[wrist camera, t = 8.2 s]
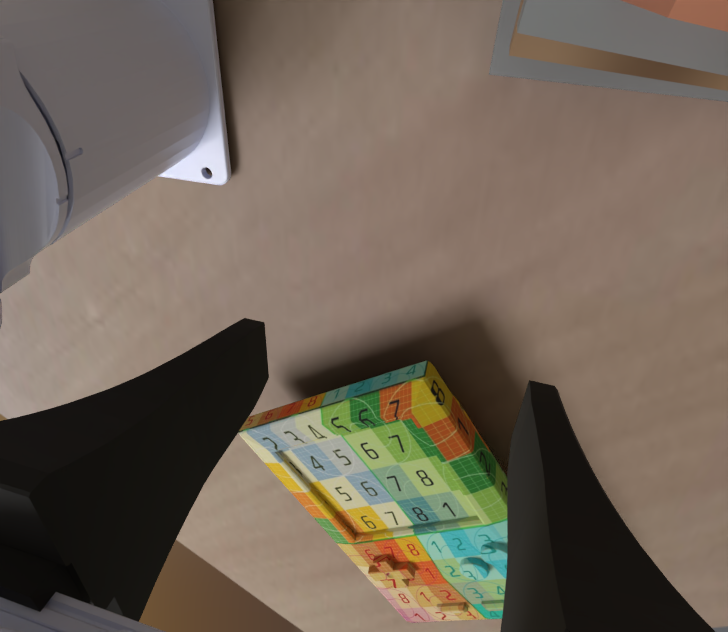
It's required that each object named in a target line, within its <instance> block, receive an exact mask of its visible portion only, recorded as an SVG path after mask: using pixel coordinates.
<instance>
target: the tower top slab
mask: <svg viewBox="0 0 728 632" xmlns="http://www.w3.org/2000/svg"><path fill="white" fill-rule="evenodd" d="M517 33H520V34H525V35H530V36H535V37H540V38H544V39H549V40H554V41H559V42H564V43H569V44H574V45H579V46H583V47H588V48H593V49H598V50H603V51H608V52H613V53H618V54H623V55H627V56H632V57H637V58H642V59H647V60H652V61H657V62H662V63H667V64H671V65H676V66H681V67H686V68H691V69H696V70H701V71H706V72H710V73H715V74H720V75H725V76H728V32H726V31H722V30H717V29H713V28H709V27H705V26H701V25H697V24H692V23H688V22H684V21H680V20H676V19H672V18H667V17H665V16H662V15H659V14H657V13H654V12H651V11H648V10H646V9H643V8H640V7H638V6H635V5H632V4H629V3H627V2H624V1H621V0H524V2H523V5H522V8H521V12H520V15H519V19H518V22H517Z"/></svg>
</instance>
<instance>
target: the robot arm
mask: <svg viewBox="0 0 728 632" xmlns="http://www.w3.org/2000/svg"><path fill="white" fill-rule="evenodd" d="M206 167H207V168H209V169H210V170H211V172H212V176H211V175H209V174H208V173H207V172H206V170H205V168H206ZM157 176H160V177H167V178H174V179H181V180H187V181H194V182H201V183H208V184H215V185H224V184H225V183H227V182H228V181H229V180H230V178H231V166H230V157H229V148H228V138H227V129H226V120H225V110H224V101H223V92H222V82H221V73H220V64H219V55H218V45H217V36H216V27H215V17H214V8H213V0H0V293H2V292H3V291H4V290H6V289H7V288H9V287H10V286H12V285H13V284H15V283H16V282H18V281H19V280H21V279H22V278H24V277H25V276H27V275H28V274H29V273H30V263H31V261H32V259H33V257H34V256H35V255H36V254H37V253H39V252H40V251H42V250H43V249H45V248H46V247H48V246H49V245H51V244H53V243H55V242H56V241H58V240H59V239H61V238H62V237H64V236H66V235H67V234H69V233H70V232H72V231H73V230H75V229H76V228H78V227H79V226H81V225H83V224H84V223H86V222H87V221H89V220H90V219H92V218H93V217H95V216H97V215H98V214H100V213H101V212H103V211H104V210H106V209H107V208H109V207H111V206H112V205H114V204H115V203H117V202H118V201H120V200H121V199H123V198H124V197H126V196H128V195H129V194H131V193H132V192H134V191H135V190H137V189H138V188H140V187H142V186H143V185H145V184H146V183H148V182H149V181H151V180H152V179H154V178H155V177H157ZM1 324H2V305H1V299H0V327H1ZM268 378H269V374H268V362H267V349H266V337H265V324H264V322H260V321H255V320H251V319H246V318H244V319H242V320H240V321H238V322H237V323H235V324H233V325H231V326H230V327H228V328H226V329H224V330H223V331H221V332H219V333H218V334H216V335H214V336H213V337H211V338H209V339H208V340H206V341H204V342H202V343H201V344H199V345H197V346H196V347H194V348H192V349H190V350H189V351H187V352H185V353H183V354H182V355H180V356H178V357H176V358H174V359H172V360H170V361H168V362H166V363H164V364H162V365H161V366H159V367H157V368H155V369H153V370H151V371H149V372H147V373H145V374H143V375H140V376H138V377H136V378H134V379H132V380H129V381H127V382H125V383H122V384H120V385H117V386H115V387H113V388H110V389H108V390H105V391H102V392H99V393H96V394H94V395H91V396H88V397H85V398H82V399H79V400H77V401H74V402H71V403H68V404H64V405H61V406H58V407H54V408H51V409H48V410H44V411H40V412H36V413H33V414H29V415H25V416H21V417H17V418H12V419H7V420H3V421H0V632H165V631H162V630H159V629H156V628H154V627H151V626H148V625H146V624H143V623H140V622H139V620H140V618H141V615H142V613H143V610H144V608H145V606H146V603H147V601H148V599H149V596H150V594H151V592H152V589H153V587H154V585H155V582H156V580H157V578H158V576H159V574H160V572H161V569H162V567H163V565H164V563H165V561H166V558H167V556H168V554H169V552H170V550H171V548H172V546H173V544H174V542H175V540H176V538H177V536H178V534H179V532H180V530H181V528H182V526H183V524H184V522H185V520H186V518H187V516H188V513H189V512H190V510H191V508H192V506H193V504H194V502H195V500H196V498H197V496H198V495H199V493H200V491H201V489H202V487H203V485H204V483H205V482H206V480H207V478H208V477H209V475H210V474H211V472H212V470H213V469H214V467H215V466H216V464H217V463H218V461H219V460H220V458H221V457H222V455H223V454H224V452H225V451H226V449H227V448H228V446H229V445H230V443H231V442H232V440H233V439H234V438H235V436H236V435H237V433H238V432H239V430H240V429H241V427H242V426H243V424H244V423H245V421H246V420H247V418H248V416H249V415H250V413H251V412H252V410H253V409H254V407H255V405H256V403H257V401H258V399H259V397H260V395H261V393H262V391H263V389H264V387H265V385H266V382H267V380H268ZM501 632H715V631H714V630H713V629H712V628H711V627H710V626H709V625H708V624H707V623H706V622H705V621H704V620H703V619H702V618H701V617H700V616H699V615H698V614H697V612H696V611H695V610H694V609H693V608H692V607H691V606H690V605H689V604H688V603H687V601H686V600H685V599H684V598H683V597H682V596H681V595H680V593H679V592H678V591H677V590H676V589H675V588H674V587H673V586H672V584H671V583H670V582H669V581H668V580H667V578H666V577H665V576H664V575H663V573H662V572H661V571H660V570H659V568H658V567H657V566H656V565H655V563H654V562H653V561H652V560H651V558H650V557H649V556H648V555H647V553H646V552H645V551H644V550H643V548H642V547H641V546H640V544H639V543H638V541H637V540H636V539H635V537H634V536H633V534H632V533H631V532H630V530H629V529H628V527H627V526H626V525H625V523H624V522H623V520H622V518H621V517H620V515H619V514H618V512H617V511H616V509H615V508H614V506H613V505H612V503H611V501H610V500H609V498H608V497H607V495H606V493H605V491H604V490H603V488H602V486H601V485H600V483H599V481H598V479H597V477H596V476H595V474H594V472H593V470H592V468H591V466H590V464H589V462H588V461H587V459H586V457H585V454H584V452H583V450H582V448H581V446H580V444H579V442H578V440H577V438H576V436H575V433H574V431H573V429H572V427H571V424H570V422H569V419H568V417H567V415H566V412H565V409H564V407H563V404H562V401H561V399H560V396H559V393H558V390H557V389H556V387H555V386H552V385H548V384H543V383H539V382H534V381H530V380H529V383H528V386H527V389H526V393H525V396H524V399H523V402H522V405H521V408H520V412H519V415H518V418H517V421H516V424H515V428H514V431H513V434H512V438H511V446H510V454H509V463H508V472H507V574H506V585H505V595H504V605H503V615H502V624H501Z"/></svg>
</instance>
